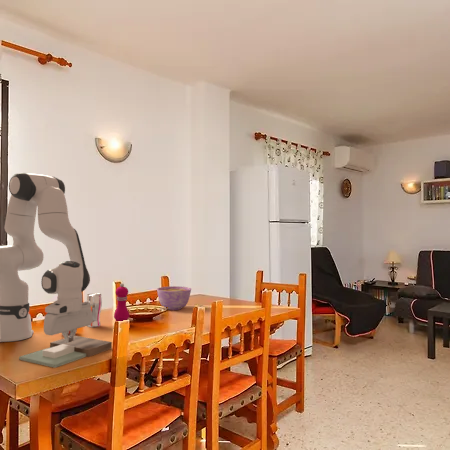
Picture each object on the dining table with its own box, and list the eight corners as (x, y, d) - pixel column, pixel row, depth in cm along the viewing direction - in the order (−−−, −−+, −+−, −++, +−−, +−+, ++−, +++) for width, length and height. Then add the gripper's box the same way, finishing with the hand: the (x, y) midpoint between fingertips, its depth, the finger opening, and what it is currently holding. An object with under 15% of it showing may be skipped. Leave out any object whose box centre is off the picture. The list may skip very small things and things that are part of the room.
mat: (19, 359, 147) (19, 356, 147) (51, 349, 160) (51, 346, 160) (54, 367, 139) (54, 364, 139) (86, 356, 152) (86, 353, 152)
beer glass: (103, 324, 202) (103, 293, 202) (99, 327, 195) (99, 295, 195) (88, 324, 202) (89, 293, 202) (84, 327, 195) (84, 295, 195)
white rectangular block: (42, 355, 149) (42, 350, 149) (62, 349, 157) (62, 344, 157) (54, 358, 146) (54, 352, 146) (74, 351, 154) (74, 346, 154)
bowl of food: (152, 306, 247) (152, 287, 247) (184, 304, 255) (184, 285, 256) (162, 313, 229) (162, 292, 229) (196, 310, 237) (196, 290, 237)
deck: (50, 349, 160) (50, 342, 160) (74, 341, 171) (74, 335, 171) (88, 356, 151) (88, 349, 151) (111, 348, 162) (111, 342, 162)
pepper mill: (113, 327, 196) (114, 284, 196) (113, 323, 203) (114, 282, 203) (129, 326, 198) (130, 284, 198) (128, 322, 205) (129, 282, 205)
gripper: (84, 299, 167) (84, 334, 167) (41, 308, 149) (40, 347, 149) (96, 301, 164) (95, 336, 164) (53, 310, 146) (52, 349, 146)
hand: (69, 341), depth 156 cm, fingers closed
